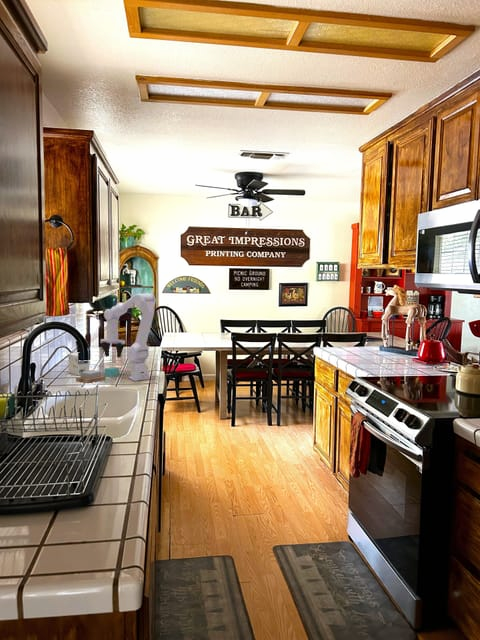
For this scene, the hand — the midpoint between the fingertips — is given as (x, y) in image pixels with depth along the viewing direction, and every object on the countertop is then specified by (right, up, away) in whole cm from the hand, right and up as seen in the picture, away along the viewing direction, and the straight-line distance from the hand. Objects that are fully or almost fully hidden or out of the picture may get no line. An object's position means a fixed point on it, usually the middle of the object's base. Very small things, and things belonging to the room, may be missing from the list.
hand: (113, 356), depth 256 cm
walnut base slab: (-7, -11, -15) cm, 20 cm away
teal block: (0, -10, -2) cm, 10 cm away
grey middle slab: (-7, -9, -15) cm, 19 cm away
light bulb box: (-19, -9, +3) cm, 22 cm away
